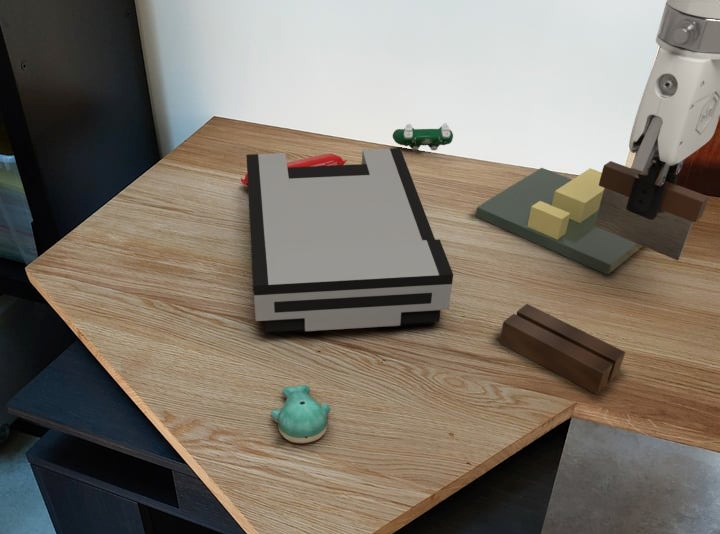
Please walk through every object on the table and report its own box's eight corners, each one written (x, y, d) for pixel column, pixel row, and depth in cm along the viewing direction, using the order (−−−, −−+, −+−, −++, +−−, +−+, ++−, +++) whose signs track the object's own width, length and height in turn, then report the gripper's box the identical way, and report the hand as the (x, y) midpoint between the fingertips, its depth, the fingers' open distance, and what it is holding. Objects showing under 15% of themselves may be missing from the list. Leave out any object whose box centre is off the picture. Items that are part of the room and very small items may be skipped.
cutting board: (667, 226, 104) (670, 216, 103) (607, 275, 96) (610, 265, 95) (539, 176, 114) (541, 167, 113) (475, 216, 106) (476, 206, 105)
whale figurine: (274, 451, 73) (273, 423, 71) (267, 398, 79) (266, 370, 76) (335, 445, 74) (336, 416, 72) (325, 393, 79) (324, 365, 77)
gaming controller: (392, 156, 123) (397, 143, 117) (391, 132, 123) (396, 118, 117) (450, 155, 123) (458, 142, 117) (449, 131, 123) (457, 117, 117)
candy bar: (349, 155, 112) (349, 175, 114) (338, 145, 115) (337, 164, 117) (247, 179, 107) (248, 199, 109) (236, 168, 109) (238, 188, 111)
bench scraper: (686, 259, 83) (709, 196, 78) (679, 264, 82) (703, 201, 77) (594, 221, 88) (610, 160, 83) (587, 226, 87) (603, 165, 82)
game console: (397, 194, 110) (401, 139, 104) (445, 335, 86) (453, 274, 81) (249, 201, 108) (245, 145, 103) (257, 347, 85) (253, 285, 79)
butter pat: (565, 233, 100) (570, 213, 98) (557, 239, 99) (562, 219, 97) (535, 221, 102) (540, 200, 100) (527, 226, 101) (531, 206, 99)
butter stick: (614, 199, 107) (619, 178, 105) (580, 223, 102) (585, 202, 100) (585, 187, 109) (590, 168, 107) (550, 211, 104) (554, 190, 102)
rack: (618, 373, 82) (625, 351, 80) (596, 395, 80) (603, 373, 78) (522, 324, 88) (526, 303, 86) (498, 343, 86) (503, 321, 84)
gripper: (706, 61, 64) (643, 252, 76) (778, 19, 72) (711, 197, 85) (623, 39, 68) (575, 224, 80) (701, 0, 76) (647, 174, 89)
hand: (646, 209), depth 82 cm, fingers closed on bench scraper, 1 cm apart
